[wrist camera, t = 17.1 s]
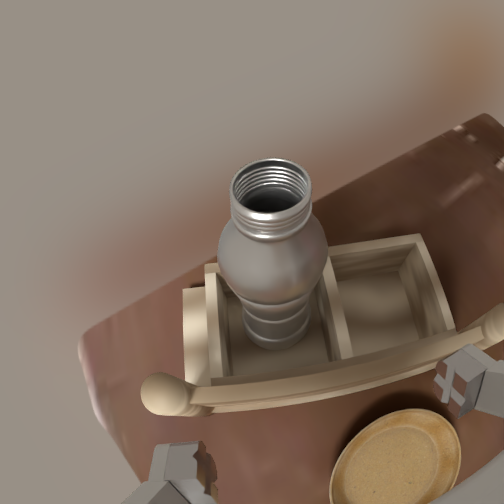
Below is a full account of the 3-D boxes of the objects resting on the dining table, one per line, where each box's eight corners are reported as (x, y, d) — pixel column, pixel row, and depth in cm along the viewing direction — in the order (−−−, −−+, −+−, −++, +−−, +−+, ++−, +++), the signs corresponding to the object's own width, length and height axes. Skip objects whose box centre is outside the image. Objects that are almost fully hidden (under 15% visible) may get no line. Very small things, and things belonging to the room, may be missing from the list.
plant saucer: (465, 422, 22) (478, 420, 20) (416, 533, 15) (425, 539, 13) (360, 394, 26) (367, 392, 24) (300, 514, 20) (302, 522, 18)
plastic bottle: (321, 326, 29) (375, 189, 12) (270, 368, 27) (254, 279, 10) (282, 284, 32) (281, 124, 15) (231, 320, 30) (171, 183, 13)
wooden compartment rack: (455, 363, 26) (519, 330, 15) (192, 416, 26) (141, 414, 16) (421, 258, 33) (461, 196, 23) (186, 294, 34) (147, 237, 24)
